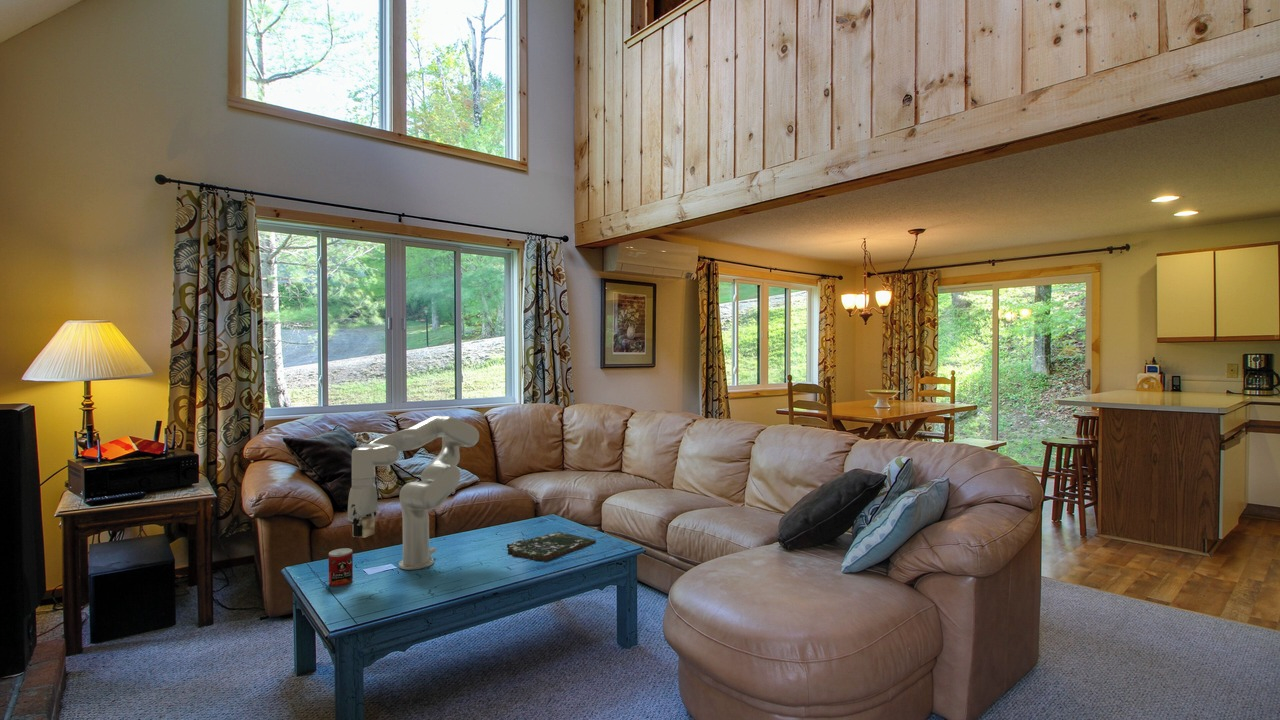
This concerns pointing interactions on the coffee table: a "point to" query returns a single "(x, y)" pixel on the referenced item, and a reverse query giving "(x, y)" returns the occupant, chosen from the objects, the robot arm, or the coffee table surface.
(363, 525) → the beech block
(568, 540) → the topographical map
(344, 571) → the canned food
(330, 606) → the coffee table surface
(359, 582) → the coffee table surface
